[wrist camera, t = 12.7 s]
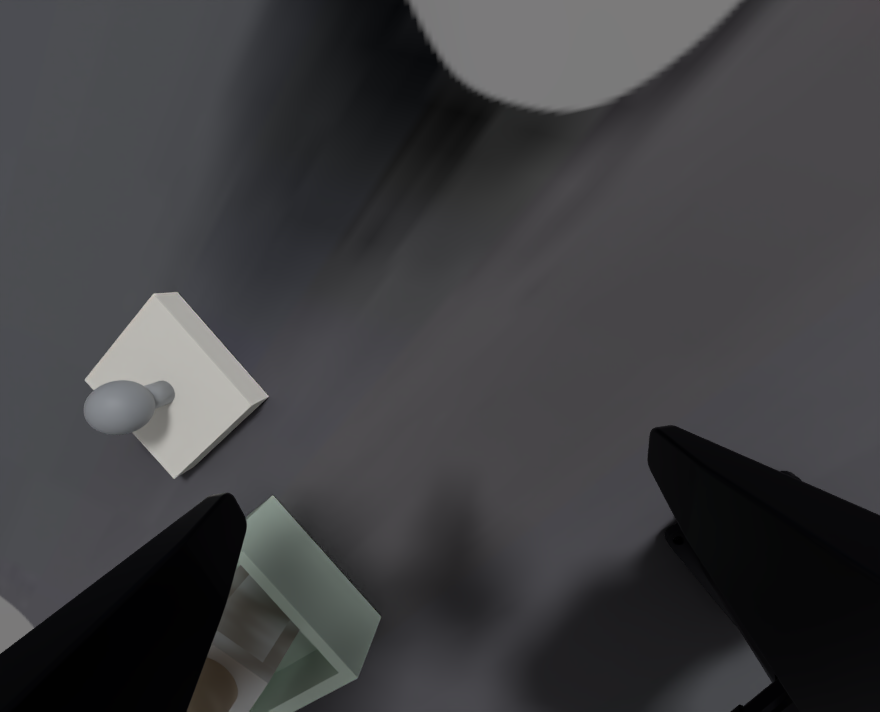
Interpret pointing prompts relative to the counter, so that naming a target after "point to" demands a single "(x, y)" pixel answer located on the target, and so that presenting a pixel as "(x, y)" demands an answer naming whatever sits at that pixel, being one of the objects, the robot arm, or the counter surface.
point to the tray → (306, 610)
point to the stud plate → (170, 385)
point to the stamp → (243, 649)
